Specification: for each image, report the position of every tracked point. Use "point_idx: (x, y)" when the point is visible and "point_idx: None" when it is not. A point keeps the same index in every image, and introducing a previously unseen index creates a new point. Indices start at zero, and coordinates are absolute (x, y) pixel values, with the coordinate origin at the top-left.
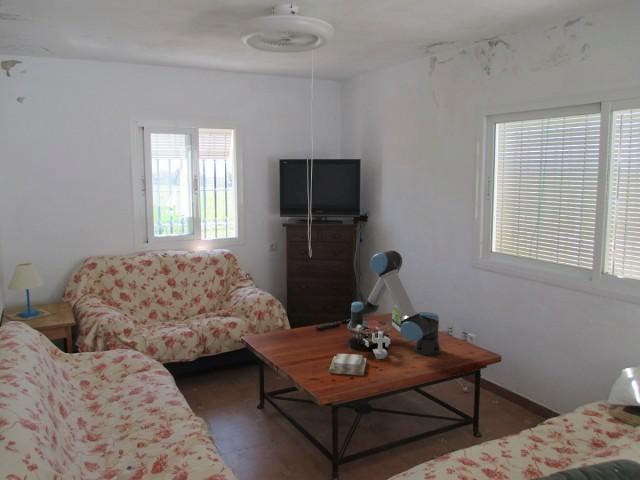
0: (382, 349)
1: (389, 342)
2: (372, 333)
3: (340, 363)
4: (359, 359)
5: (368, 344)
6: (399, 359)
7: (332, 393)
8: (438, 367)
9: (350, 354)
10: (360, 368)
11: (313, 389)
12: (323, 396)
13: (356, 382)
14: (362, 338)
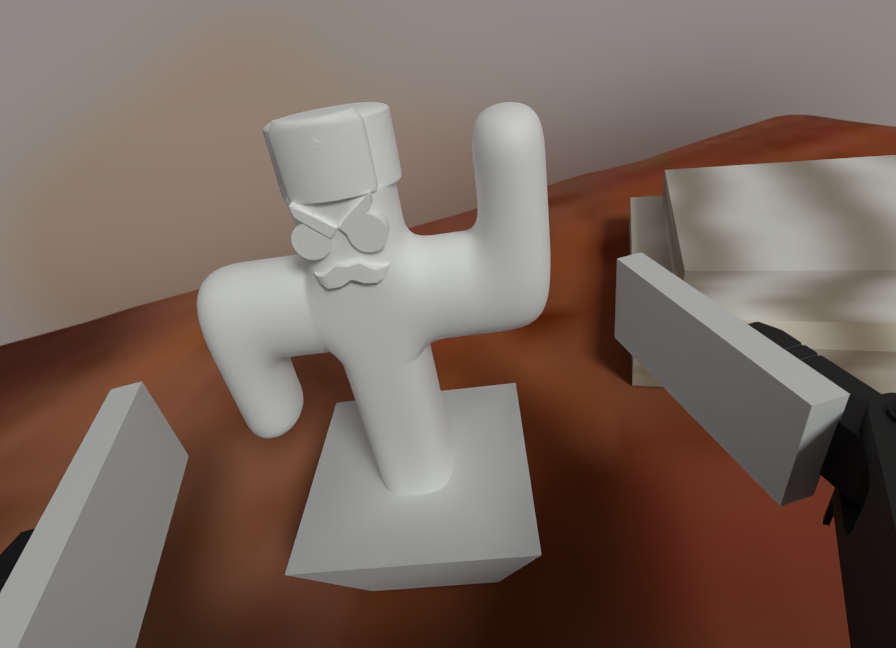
0: (344, 545)
1: (170, 431)
2: (532, 112)
3: (853, 159)
4: (693, 209)
5: (624, 296)
6: (219, 473)
7: (756, 132)
8: (56, 348)
9: (864, 265)
10: (660, 211)
11: (881, 130)
12: (787, 119)
13: (660, 185)
14: (887, 431)
